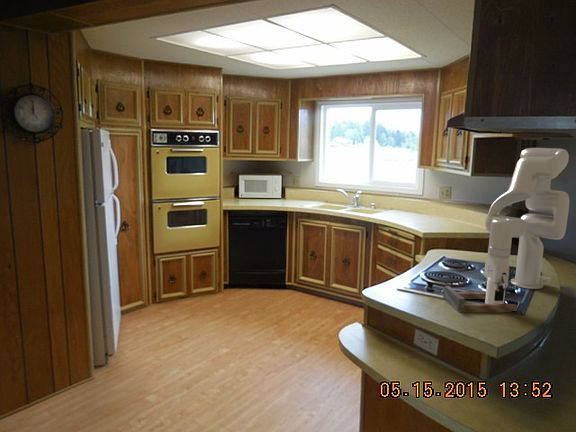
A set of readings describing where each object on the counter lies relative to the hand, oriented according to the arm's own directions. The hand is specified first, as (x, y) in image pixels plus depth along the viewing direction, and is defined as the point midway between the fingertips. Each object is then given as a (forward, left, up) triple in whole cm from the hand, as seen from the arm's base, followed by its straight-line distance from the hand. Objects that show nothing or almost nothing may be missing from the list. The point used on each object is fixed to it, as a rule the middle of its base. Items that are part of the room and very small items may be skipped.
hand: (494, 297), depth 166 cm
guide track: (+6, 0, -3) cm, 7 cm away
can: (0, 0, -3) cm, 3 cm away
